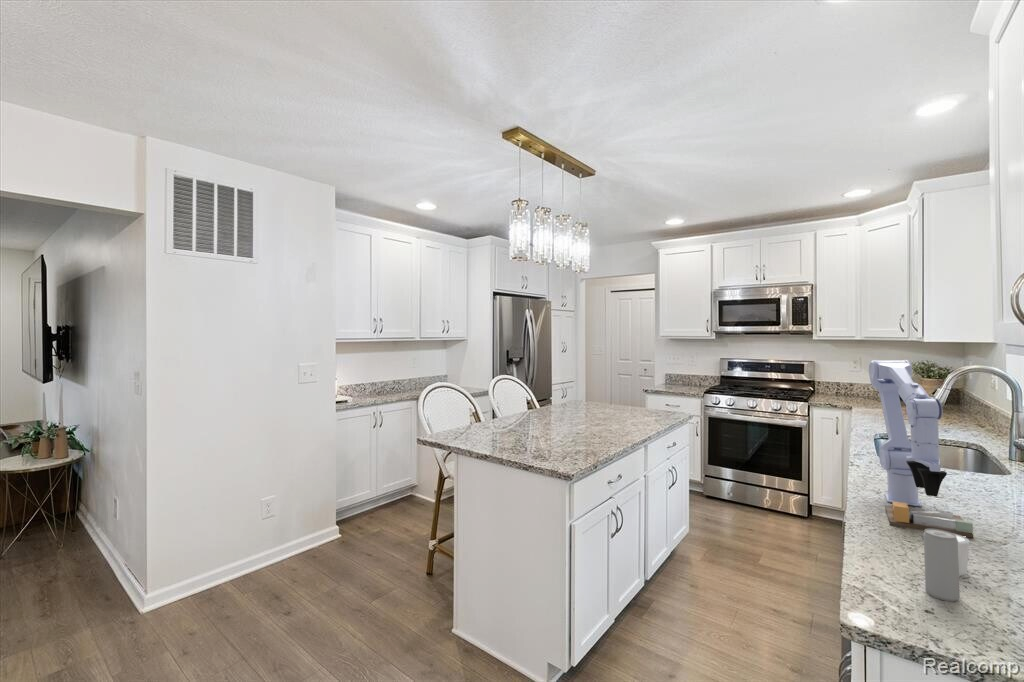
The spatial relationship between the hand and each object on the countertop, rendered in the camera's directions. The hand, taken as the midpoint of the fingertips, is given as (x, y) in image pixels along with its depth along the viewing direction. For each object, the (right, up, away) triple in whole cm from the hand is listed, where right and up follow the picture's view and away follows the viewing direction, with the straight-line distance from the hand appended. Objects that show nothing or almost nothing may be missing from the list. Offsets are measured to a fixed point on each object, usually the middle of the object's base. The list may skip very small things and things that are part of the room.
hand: (926, 491), depth 126 cm
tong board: (-2, -8, -2) cm, 8 cm away
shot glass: (-20, -8, -28) cm, 35 cm away
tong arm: (-2, -6, -3) cm, 8 cm away
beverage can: (-31, -8, -38) cm, 50 cm away
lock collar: (-9, -7, -3) cm, 12 cm away
